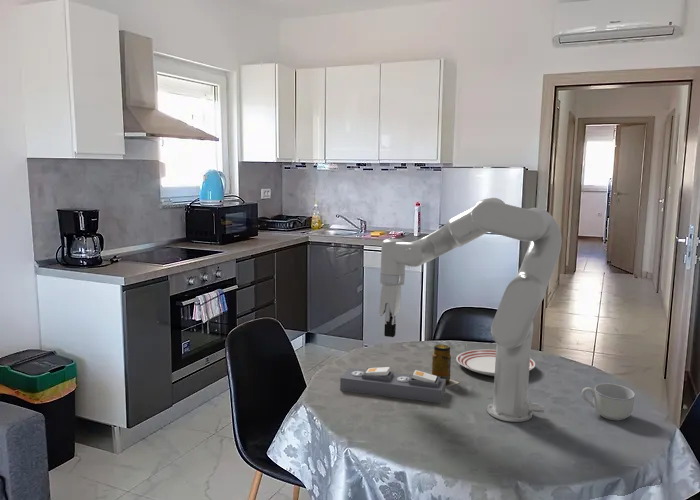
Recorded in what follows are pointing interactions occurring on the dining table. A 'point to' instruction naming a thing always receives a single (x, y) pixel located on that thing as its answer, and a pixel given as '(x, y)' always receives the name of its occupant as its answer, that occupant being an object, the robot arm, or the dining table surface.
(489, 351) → the dinner plate
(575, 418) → the dining table surface
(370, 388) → the rocker switch panel
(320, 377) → the dining table surface
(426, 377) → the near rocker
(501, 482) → the dining table surface
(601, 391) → the teacup
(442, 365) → the condiment
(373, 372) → the far rocker
